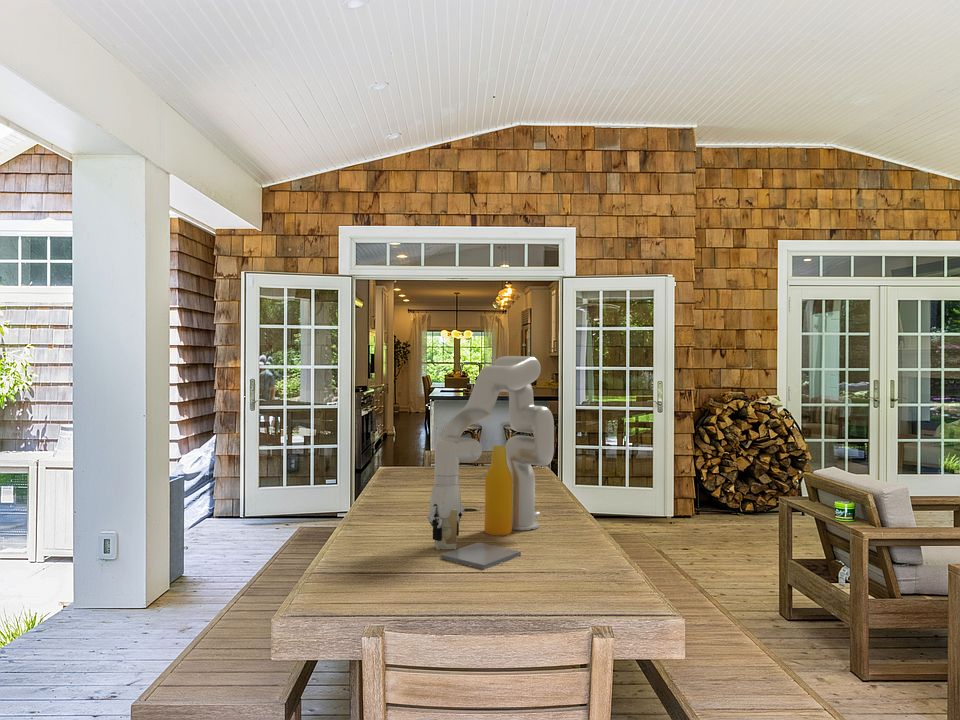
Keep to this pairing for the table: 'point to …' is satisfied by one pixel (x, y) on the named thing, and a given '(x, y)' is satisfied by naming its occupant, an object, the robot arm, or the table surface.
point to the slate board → (480, 555)
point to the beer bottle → (498, 494)
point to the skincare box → (448, 532)
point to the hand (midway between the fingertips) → (445, 537)
